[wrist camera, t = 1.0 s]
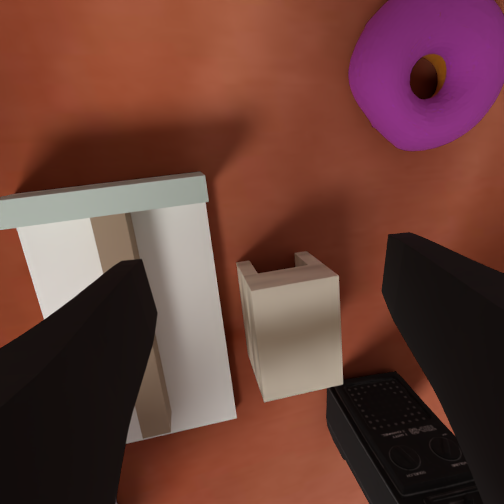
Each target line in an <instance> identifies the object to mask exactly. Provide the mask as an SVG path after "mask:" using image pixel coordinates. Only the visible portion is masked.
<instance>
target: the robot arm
mask: <svg viewBox="0 0 504 504" xmlns="http://www.w3.org/2000/svg"><path fill="white" fill-rule="evenodd" d="M382 294H383V296H384V299H385V301H386V304H387V307H388V309H389V311H390V314H391V316H392V318H393V320H394V322H395V324H396V326H397V328H398V329H399V331H400V333H401V335H402V336H403V338H404V340H405V341H406V343H407V345H408V347H409V348H410V350H411V352H412V353H413V355H414V357H415V358H416V360H417V362H418V363H419V365H420V367H421V368H422V370H423V372H424V374H425V375H426V377H427V379H428V380H429V382H430V384H431V386H432V387H433V389H434V391H435V393H436V395H437V397H438V399H439V401H440V403H441V405H442V407H443V409H444V412H445V414H446V416H447V418H448V420H449V423H450V425H451V427H452V429H453V431H454V434H455V436H456V438H457V441H458V443H459V445H460V448H461V450H462V452H463V455H464V457H465V459H466V462H467V464H468V466H469V469H470V471H471V473H472V476H473V478H474V481H475V483H476V486H477V488H478V491H479V494H480V496H481V499H482V501H483V504H504V273H502V272H499V271H497V270H494V269H492V268H490V267H487V266H485V265H483V264H480V263H478V262H476V261H474V260H471V259H469V258H467V257H465V256H463V255H460V254H458V253H456V252H454V251H452V250H450V249H447V248H445V247H443V246H441V245H439V244H437V243H435V242H432V241H430V240H428V239H426V238H423V237H421V236H418V235H416V234H413V233H410V232H408V233H398V234H388V242H387V250H386V258H385V267H384V275H383V284H382ZM157 315H158V312H157V309H156V305H155V302H154V298H153V295H152V292H151V288H150V285H149V281H148V278H147V274H146V271H145V267H144V264H143V261H142V259H134V260H124V261H120V262H119V263H117V264H116V265H114V266H113V267H112V268H110V269H109V270H108V271H106V272H105V273H104V274H103V275H101V276H100V277H99V278H98V279H96V280H95V281H94V282H93V283H91V284H90V285H89V286H88V287H86V288H85V289H84V290H83V291H81V292H80V293H79V294H78V295H76V296H75V297H74V298H73V299H71V300H70V301H69V302H67V303H66V304H65V305H63V306H62V307H61V308H59V309H58V310H56V311H55V312H54V313H52V314H51V315H50V316H48V317H47V318H46V319H44V320H43V321H41V322H40V323H39V324H37V325H36V326H34V327H33V328H31V329H30V330H28V331H27V332H25V333H24V334H22V335H21V336H19V337H18V338H16V339H14V340H13V341H11V342H10V343H8V344H6V345H5V346H3V347H2V348H0V504H117V501H116V497H117V491H118V485H119V479H120V473H121V467H122V461H123V456H124V451H125V445H126V440H127V435H128V430H129V425H130V421H131V417H132V414H133V410H134V407H135V403H136V400H137V397H138V393H139V390H140V387H141V383H142V380H143V377H144V373H145V370H146V367H147V363H148V360H149V356H150V353H151V349H152V346H153V342H154V336H155V330H156V322H157Z"/></svg>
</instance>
